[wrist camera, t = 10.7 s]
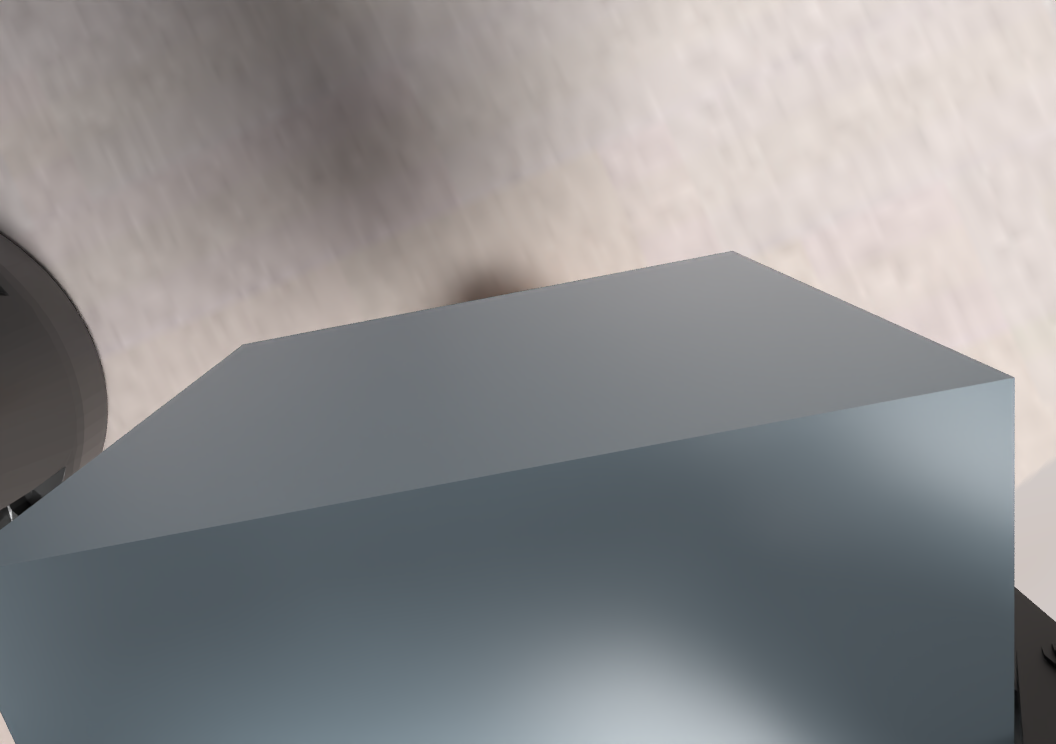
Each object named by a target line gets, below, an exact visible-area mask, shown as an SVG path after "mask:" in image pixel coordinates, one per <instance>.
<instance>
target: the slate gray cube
mask: <svg viewBox="0 0 1056 744" xmlns="http://www.w3.org/2000/svg"><path fill="white" fill-rule="evenodd" d="M1014 407H1015V378H1014V377H1012V376H1010V375H1008V374H1005V373H1003V372H1001V371H999V370H996V369H994V368H992V367H990V366H988V365H985V364H983V363H981V362H979V361H976V360H974V359H972V358H970V357H968V356H965V355H963V354H961V353H959V352H956V351H954V350H952V349H950V348H948V347H945V346H943V345H941V344H939V343H936V342H934V341H932V340H930V339H927V338H925V337H923V336H921V335H919V334H916V333H914V332H912V331H910V330H907V329H905V328H903V327H901V326H899V325H896V324H894V323H892V322H890V321H887V320H885V319H883V318H881V317H879V316H876V315H874V314H872V313H870V312H867V311H865V310H863V309H861V308H858V307H856V306H854V305H852V304H850V303H847V302H845V301H843V300H841V299H838V298H836V297H834V296H832V295H830V294H827V293H825V292H823V291H821V290H818V289H816V288H814V287H812V286H810V285H807V284H805V283H803V282H801V281H798V280H796V279H794V278H792V277H790V276H787V275H785V274H783V273H781V272H778V271H776V270H774V269H772V268H769V267H767V266H765V265H763V264H761V263H758V262H756V261H754V260H752V259H749V258H747V257H745V256H743V255H741V254H738V253H736V252H734V251H730V252H725V253H719V254H714V255H709V256H704V257H698V258H693V259H688V260H683V261H677V262H672V263H667V264H662V265H657V266H651V267H646V268H641V269H636V270H630V271H625V272H620V273H615V274H609V275H604V276H599V277H594V278H588V279H583V280H578V281H573V282H568V283H562V284H557V285H552V286H547V287H541V288H536V289H531V290H526V291H520V292H515V293H510V294H505V295H500V296H494V297H489V298H484V299H479V300H473V301H468V302H463V303H458V304H452V305H447V306H442V307H437V308H432V309H426V310H421V311H416V312H411V313H405V314H400V315H395V316H390V317H384V318H379V319H374V320H369V321H364V322H358V323H353V324H348V325H343V326H337V327H332V328H327V329H322V330H316V331H311V332H306V333H301V334H295V335H290V336H285V337H280V338H275V339H269V340H264V341H259V342H254V343H248V344H243V345H242V346H241V347H239V348H238V349H237V350H235V351H234V352H233V353H231V354H230V355H229V356H227V357H226V358H225V359H224V360H222V361H221V362H220V363H218V364H217V365H216V366H214V367H213V368H212V369H210V370H209V371H208V372H206V373H205V374H204V375H203V376H201V377H200V378H199V379H197V380H196V381H195V382H193V383H192V384H191V385H189V386H188V387H187V388H186V389H184V390H183V391H182V392H180V393H179V394H178V395H176V396H175V397H174V398H172V399H171V400H170V401H169V402H167V403H166V404H165V405H163V406H162V407H161V408H159V409H158V410H157V411H155V412H154V413H153V414H151V415H150V416H149V417H148V418H146V419H145V420H144V421H142V422H141V423H140V424H138V425H137V426H136V427H134V428H133V429H132V430H131V431H129V432H128V433H127V434H125V435H124V436H123V437H121V438H120V439H119V440H117V441H116V442H115V443H114V444H112V445H111V446H110V447H108V448H107V449H106V450H104V451H103V452H102V453H100V454H99V455H98V456H97V457H95V458H94V459H93V460H91V461H90V462H89V463H87V464H86V465H85V466H83V467H82V468H81V469H79V470H78V471H77V472H76V473H74V474H73V475H72V476H70V477H69V478H68V479H66V480H65V481H64V482H62V483H61V484H60V485H59V486H57V487H56V488H55V489H53V490H52V491H51V492H49V493H48V494H47V495H45V496H44V497H43V498H42V499H40V500H39V501H38V502H36V503H35V504H34V505H32V506H31V507H30V508H28V509H27V510H26V511H24V512H23V513H22V514H21V515H19V516H18V517H17V518H15V519H14V520H13V521H11V522H10V523H9V524H7V525H6V526H5V527H4V528H2V529H1V530H0V712H1V714H2V716H3V718H4V720H5V722H6V725H7V727H8V729H9V731H10V733H11V735H12V737H13V739H14V741H15V744H1014Z"/></svg>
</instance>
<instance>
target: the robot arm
mask: <svg viewBox="0 0 1056 744" xmlns="http://www.w3.org/2000/svg"><path fill="white" fill-rule="evenodd" d="M107 416H108V410H107V394H106V386H105V380H104V375H103V371H102V367H101V364H100V360H99V357H98V354H97V351H96V349H95V346H94V344H93V341H92V339H91V337H90V334H89V332H88V330H87V328H86V327H85V325H84V323H83V321H82V319H81V317H80V316H79V314H78V312H77V311H76V309H75V308H74V306H73V305H72V303H71V302H70V300H69V299H68V298H67V296H66V295H65V293H64V292H63V291H62V290H61V288H60V287H59V286H58V285H57V283H56V282H55V281H54V280H53V279H52V278H51V277H50V276H49V275H48V274H47V272H46V271H45V270H44V269H43V268H42V267H41V266H40V265H39V264H37V263H36V262H35V261H34V260H33V259H32V258H31V257H30V256H29V255H27V254H26V253H25V252H24V251H23V250H22V249H20V248H19V247H18V246H16V245H15V244H14V243H12V242H11V241H10V240H8V239H7V238H5V237H4V236H2V235H1V234H0V530H1V529H2V528H4V527H5V526H6V525H7V524H9V523H10V522H11V521H13V520H14V519H15V518H17V517H18V516H19V515H21V514H22V513H23V512H24V511H26V510H27V509H28V508H30V507H31V506H32V505H34V504H35V503H36V502H38V501H39V500H40V499H42V498H43V497H44V496H45V495H47V494H48V493H49V492H51V491H52V490H53V489H55V488H56V487H57V486H59V485H60V484H61V483H62V482H64V481H65V480H66V479H68V478H69V477H70V476H72V475H73V474H74V473H76V472H77V471H78V470H79V469H81V468H82V467H83V466H85V465H86V464H87V463H89V462H90V461H91V460H93V459H94V458H95V457H97V456H98V455H99V454H100V453H102V450H103V446H104V442H105V436H106V429H107ZM1014 744H1056V622H1055V621H1054V620H1053V619H1052V618H1050V617H1049V616H1048V615H1047V614H1046V613H1045V612H1043V611H1042V610H1041V609H1040V608H1039V607H1037V606H1036V605H1035V604H1034V603H1033V602H1032V601H1031V600H1029V599H1028V598H1027V597H1026V596H1025V595H1023V594H1022V593H1021V592H1020V591H1019V590H1018V589H1017V588H1015V587H1014Z"/></svg>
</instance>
